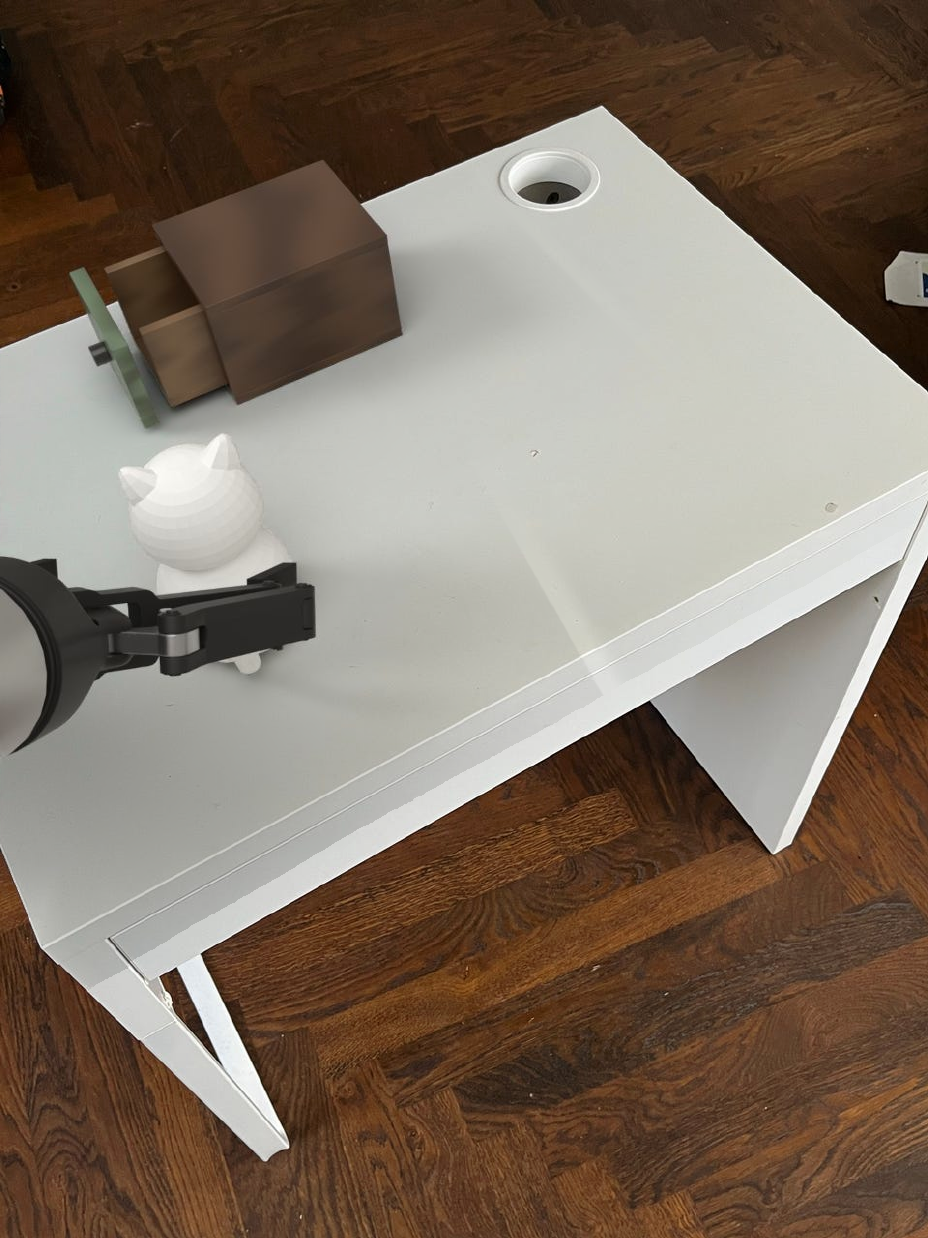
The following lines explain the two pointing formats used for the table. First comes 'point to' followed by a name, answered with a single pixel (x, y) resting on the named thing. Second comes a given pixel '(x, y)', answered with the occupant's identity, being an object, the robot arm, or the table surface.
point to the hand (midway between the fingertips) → (169, 584)
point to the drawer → (153, 331)
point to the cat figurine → (201, 521)
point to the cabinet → (286, 277)
